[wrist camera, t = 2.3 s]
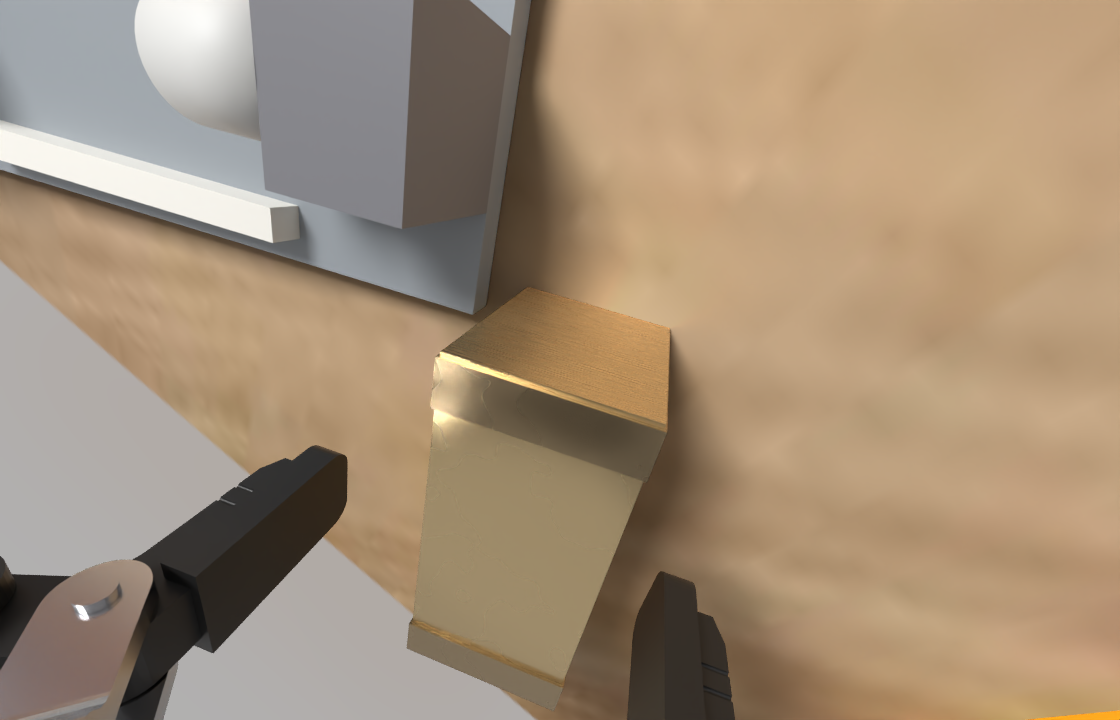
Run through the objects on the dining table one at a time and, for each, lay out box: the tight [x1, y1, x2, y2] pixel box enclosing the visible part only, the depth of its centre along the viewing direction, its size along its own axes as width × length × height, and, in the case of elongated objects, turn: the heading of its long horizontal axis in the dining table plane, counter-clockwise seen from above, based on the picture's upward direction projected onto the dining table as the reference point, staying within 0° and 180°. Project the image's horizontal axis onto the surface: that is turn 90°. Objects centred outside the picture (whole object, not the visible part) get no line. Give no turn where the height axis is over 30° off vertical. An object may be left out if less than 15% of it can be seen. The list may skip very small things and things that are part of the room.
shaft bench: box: [0, 0, 531, 315], centre depth 11 cm, size 24×10×5 cm, turn 77°
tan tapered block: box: [407, 287, 670, 711], centre depth 13 cm, size 10×5×6 cm, turn 167°
